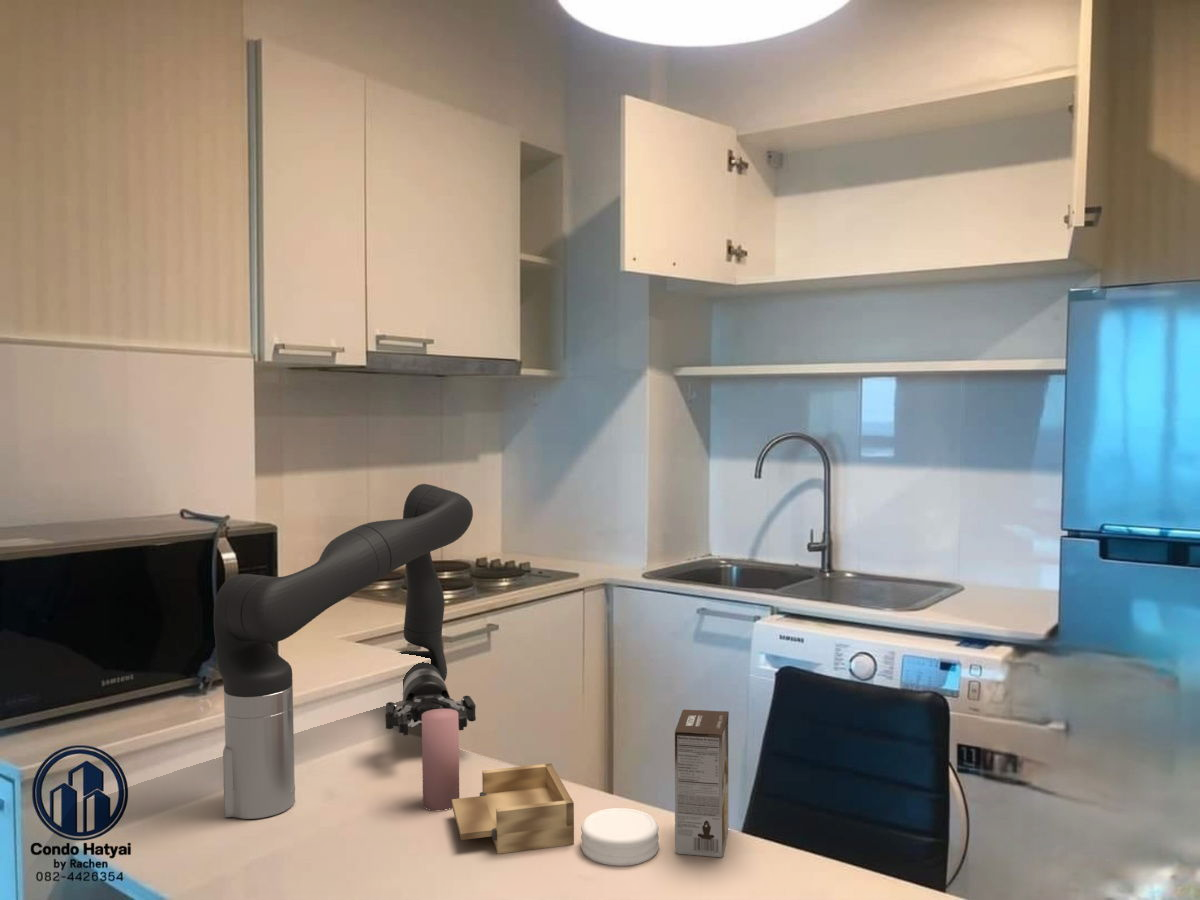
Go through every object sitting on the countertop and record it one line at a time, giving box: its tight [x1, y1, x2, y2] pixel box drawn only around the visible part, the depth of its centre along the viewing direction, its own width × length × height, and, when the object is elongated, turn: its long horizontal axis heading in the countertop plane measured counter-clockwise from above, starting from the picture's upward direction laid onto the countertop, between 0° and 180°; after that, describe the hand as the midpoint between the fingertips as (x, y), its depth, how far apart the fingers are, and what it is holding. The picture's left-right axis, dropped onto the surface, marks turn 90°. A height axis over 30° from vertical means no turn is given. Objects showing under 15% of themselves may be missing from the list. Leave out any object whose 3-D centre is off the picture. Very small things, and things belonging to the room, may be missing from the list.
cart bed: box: [452, 763, 575, 855], centre depth 127 cm, size 14×14×6 cm
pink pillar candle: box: [421, 709, 460, 811], centre depth 135 cm, size 5×5×13 cm
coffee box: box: [674, 709, 730, 858], centre depth 123 cm, size 9×6×16 cm
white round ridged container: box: [580, 807, 660, 867], centre depth 122 cm, size 10×10×4 cm
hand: (433, 726), depth 146 cm, fingers open, 8 cm apart
